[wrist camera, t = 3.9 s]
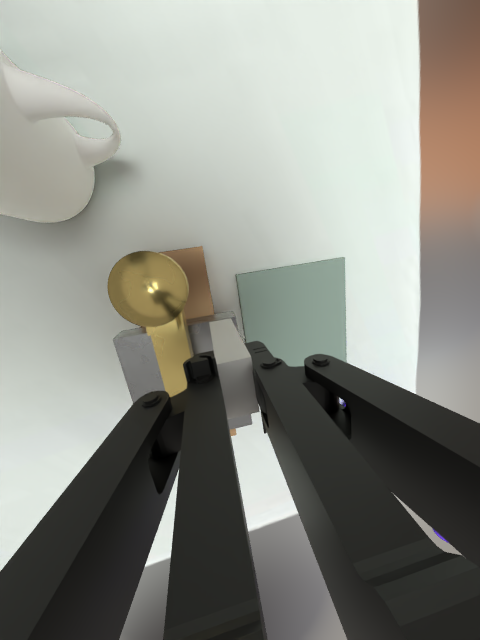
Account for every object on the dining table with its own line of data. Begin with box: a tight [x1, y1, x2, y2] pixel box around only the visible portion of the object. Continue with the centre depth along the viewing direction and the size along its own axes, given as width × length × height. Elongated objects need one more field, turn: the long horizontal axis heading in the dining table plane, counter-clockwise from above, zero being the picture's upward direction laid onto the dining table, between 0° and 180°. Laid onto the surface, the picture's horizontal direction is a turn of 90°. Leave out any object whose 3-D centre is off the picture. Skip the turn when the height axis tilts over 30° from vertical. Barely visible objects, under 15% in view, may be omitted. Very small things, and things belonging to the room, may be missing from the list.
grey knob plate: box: [113, 311, 252, 430], centre depth 19 cm, size 10×9×3 cm
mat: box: [236, 257, 346, 367], centre depth 26 cm, size 14×12×1 cm
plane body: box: [141, 246, 236, 436], centre depth 19 cm, size 18×6×11 cm, turn 9°
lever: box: [108, 251, 194, 397], centre depth 14 cm, size 14×4×4 cm, turn 9°
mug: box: [0, 50, 121, 223], centre depth 14 cm, size 9×12×11 cm
